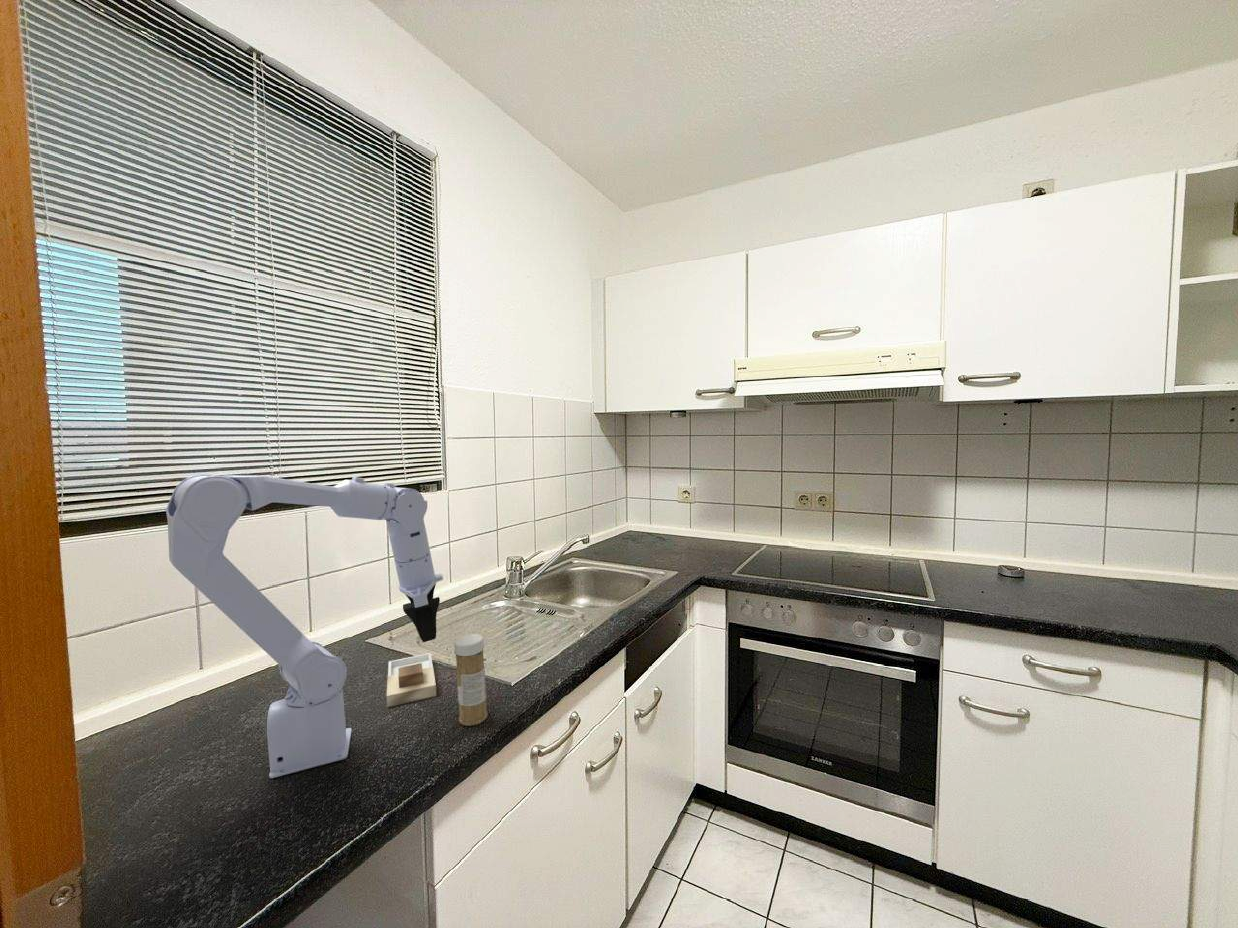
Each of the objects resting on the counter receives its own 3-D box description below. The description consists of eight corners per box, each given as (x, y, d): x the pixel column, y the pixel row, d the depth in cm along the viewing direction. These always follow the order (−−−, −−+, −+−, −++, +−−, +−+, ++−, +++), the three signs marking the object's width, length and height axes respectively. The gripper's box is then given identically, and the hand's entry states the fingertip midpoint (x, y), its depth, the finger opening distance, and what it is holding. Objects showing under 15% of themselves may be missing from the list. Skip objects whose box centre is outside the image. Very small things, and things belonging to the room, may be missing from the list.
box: (388, 685, 93) (387, 678, 93) (389, 668, 100) (388, 661, 100) (433, 675, 96) (433, 668, 96) (431, 659, 103) (430, 652, 103)
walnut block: (399, 687, 88) (398, 677, 88) (399, 678, 91) (398, 667, 91) (423, 682, 89) (422, 671, 89) (422, 673, 93) (421, 662, 93)
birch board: (387, 707, 85) (386, 695, 85) (388, 686, 93) (387, 676, 93) (436, 695, 89) (435, 684, 88) (433, 676, 96) (433, 666, 96)
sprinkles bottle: (462, 712, 83) (457, 634, 82) (490, 710, 83) (485, 631, 82) (456, 728, 78) (450, 645, 77) (485, 725, 78) (480, 643, 78)
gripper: (440, 561, 79) (456, 640, 81) (434, 541, 92) (448, 609, 94) (392, 573, 76) (410, 654, 78) (393, 550, 89) (408, 620, 91)
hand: (428, 630), depth 86 cm, fingers open, 7 cm apart
